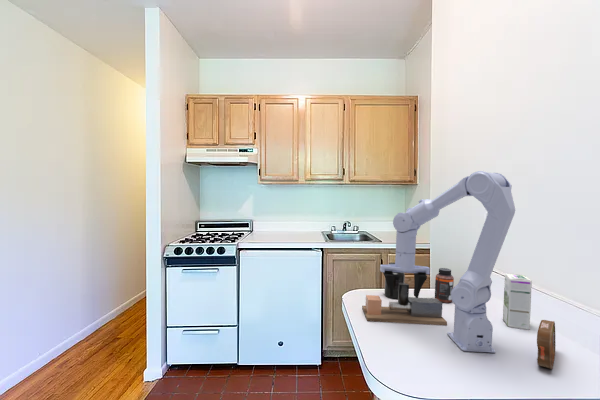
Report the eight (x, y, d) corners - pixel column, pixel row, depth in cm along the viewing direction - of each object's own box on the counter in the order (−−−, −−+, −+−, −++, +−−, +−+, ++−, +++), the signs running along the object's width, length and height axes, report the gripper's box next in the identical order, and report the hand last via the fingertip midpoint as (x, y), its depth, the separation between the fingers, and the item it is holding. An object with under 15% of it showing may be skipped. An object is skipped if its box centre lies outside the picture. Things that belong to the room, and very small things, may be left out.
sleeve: (441, 318, 97) (442, 303, 97) (411, 316, 98) (411, 302, 98) (436, 312, 102) (436, 298, 102) (407, 310, 102) (407, 297, 102)
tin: (551, 375, 70) (553, 337, 70) (533, 370, 72) (535, 332, 72) (556, 351, 82) (558, 317, 81) (540, 346, 84) (542, 314, 83)
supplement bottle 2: (455, 303, 113) (457, 271, 113) (438, 303, 113) (440, 271, 113) (448, 298, 119) (449, 267, 119) (431, 297, 119) (433, 266, 119)
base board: (446, 325, 95) (447, 321, 95) (367, 321, 96) (367, 317, 96) (434, 312, 105) (434, 309, 105) (362, 308, 106) (362, 305, 106)
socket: (380, 314, 98) (381, 300, 98) (367, 314, 98) (368, 299, 98) (378, 309, 103) (378, 295, 102) (365, 308, 103) (365, 295, 103)
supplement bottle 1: (380, 294, 121) (381, 262, 120) (394, 292, 124) (396, 261, 123) (393, 300, 114) (394, 266, 114) (407, 298, 117) (409, 265, 117)
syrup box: (530, 330, 93) (533, 280, 93) (506, 326, 95) (509, 277, 95) (523, 322, 99) (526, 275, 98) (501, 319, 100) (504, 273, 100)
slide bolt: (434, 313, 98) (435, 287, 98) (390, 311, 99) (391, 285, 98) (430, 309, 101) (431, 284, 101) (388, 307, 102) (389, 282, 101)
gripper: (425, 250, 103) (423, 292, 104) (378, 248, 104) (377, 290, 104) (433, 255, 96) (430, 300, 97) (383, 252, 97) (381, 298, 97)
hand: (403, 295), depth 100 cm, fingers open, 7 cm apart
